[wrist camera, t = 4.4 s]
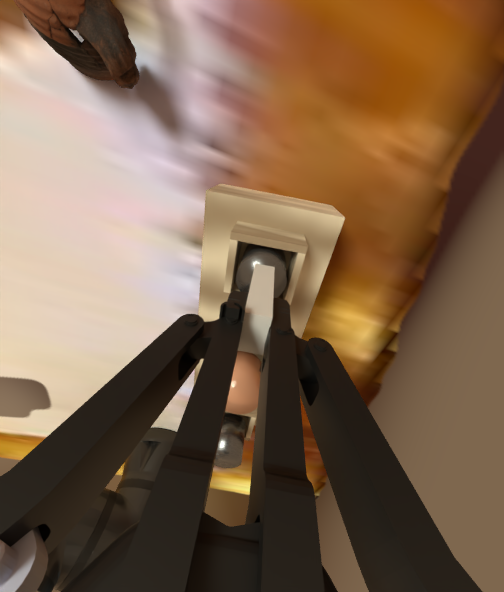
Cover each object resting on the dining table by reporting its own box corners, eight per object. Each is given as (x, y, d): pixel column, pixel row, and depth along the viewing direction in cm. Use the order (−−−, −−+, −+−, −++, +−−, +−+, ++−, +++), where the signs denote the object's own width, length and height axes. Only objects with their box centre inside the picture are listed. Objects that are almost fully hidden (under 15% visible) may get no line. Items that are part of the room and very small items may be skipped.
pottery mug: (26, 17, 21) (-103, -159, 12) (118, -35, 21) (55, -233, 13) (115, 140, 22) (52, 53, 14) (199, 87, 23) (187, -25, 14)
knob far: (243, 433, 32) (238, 470, 28) (214, 428, 32) (205, 464, 28) (248, 416, 30) (243, 454, 26) (217, 410, 30) (208, 447, 26)
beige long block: (269, 394, 42) (267, 452, 33) (202, 381, 42) (184, 436, 33) (331, 205, 25) (356, 228, 17) (220, 183, 25) (193, 196, 17)
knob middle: (257, 380, 26) (254, 417, 23) (222, 373, 26) (213, 409, 23) (264, 354, 24) (262, 391, 21) (226, 347, 24) (217, 382, 21)
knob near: (279, 282, 23) (280, 306, 20) (240, 274, 23) (232, 296, 20) (289, 243, 21) (292, 262, 18) (246, 235, 21) (239, 251, 18)
